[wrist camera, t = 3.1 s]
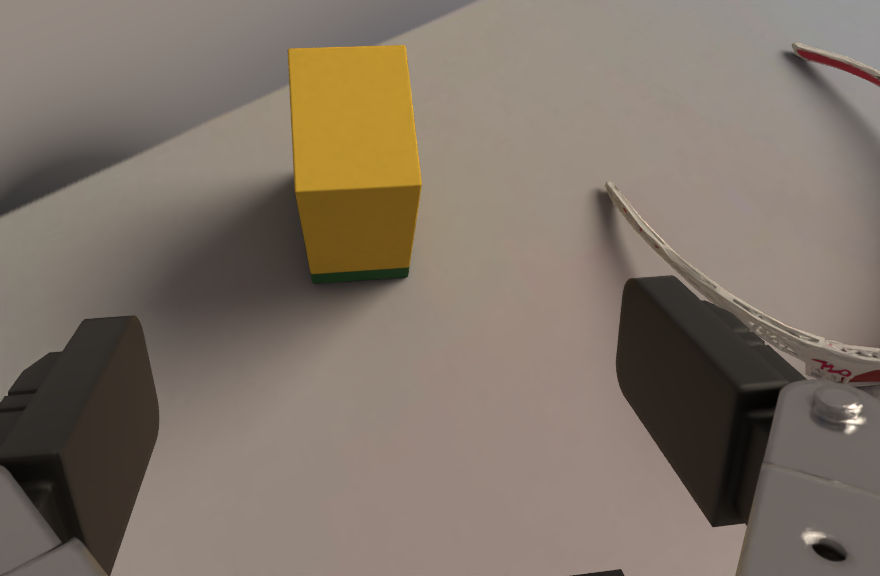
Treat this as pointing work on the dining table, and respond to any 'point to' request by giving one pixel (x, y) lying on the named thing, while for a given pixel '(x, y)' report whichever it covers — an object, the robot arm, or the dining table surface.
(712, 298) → the sunglasses
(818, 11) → the dining table surface
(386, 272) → the sponge
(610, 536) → the dining table surface
